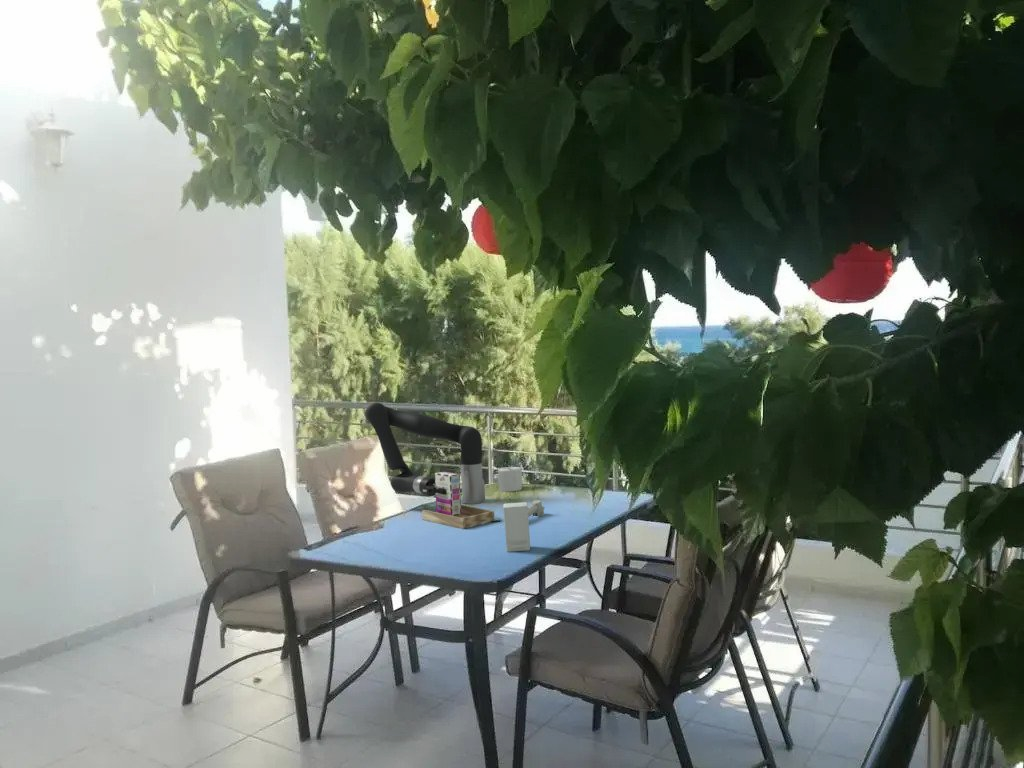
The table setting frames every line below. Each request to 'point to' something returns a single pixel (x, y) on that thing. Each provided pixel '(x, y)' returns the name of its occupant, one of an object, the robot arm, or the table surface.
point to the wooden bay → (461, 517)
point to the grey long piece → (536, 509)
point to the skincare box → (516, 527)
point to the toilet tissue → (510, 479)
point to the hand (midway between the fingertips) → (451, 490)
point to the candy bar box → (448, 493)
